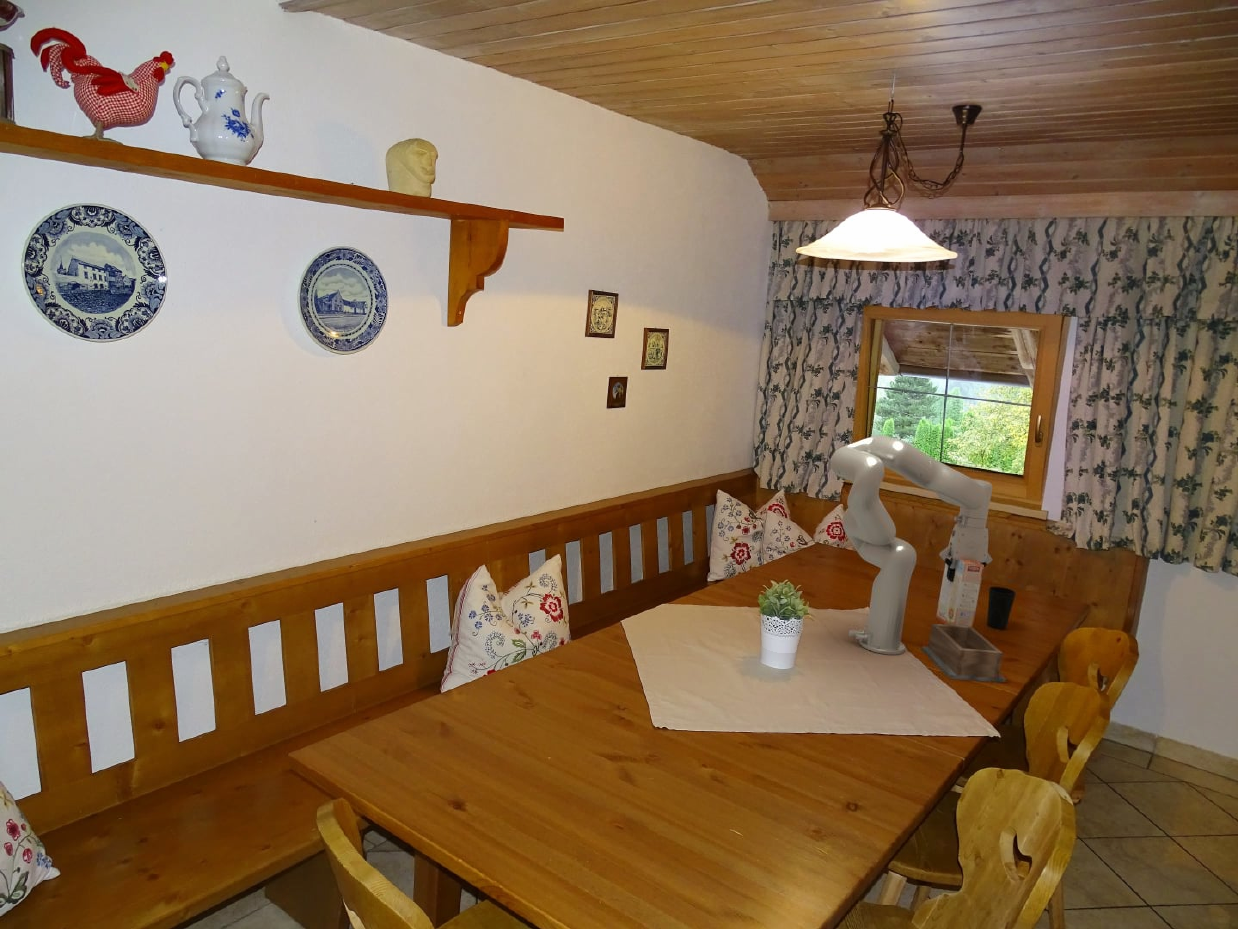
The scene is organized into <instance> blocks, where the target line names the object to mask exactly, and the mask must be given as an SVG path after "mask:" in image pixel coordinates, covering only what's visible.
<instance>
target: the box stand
mask: <svg viewBox="0 0 1238 929" xmlns="http://www.w3.org/2000/svg"><path fill="white" fill-rule="evenodd" d="M920 650H921V651H922V652H923V653H924V654H925V655H926V656H927V657H928V658H929V659H930V661H932V663H934V664H935V665H936V666H937V667H938V668H939V669H940V671H941V672H942V673H943V674H944V675H945V676H946V677H947V678H948V679H949V680H961V681H962V680H963V681H976V682H991V681H993V682H991V683H1003V682H1005V683H1006V678H1005V677H1004V676H1003V675H1002V674H1000V672H1001V666H1002V660H1003V655H1004V654H1003V652H1002V650H1000V649H999V648H998V647H996V645H994V644H993V643H992V642H990V641H989V640H988V639H987V638H986V637H984V636H983V635H982V634H981V633H980V632H978V630H976V629H975V628H973V627H969V626H956V625H945V624H939V623H931V628H930V634H929V641H928V646H924V645H922V646H921V649H920Z"/></svg>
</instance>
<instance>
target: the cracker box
mask: <svg viewBox="0 0 1238 929" xmlns="http://www.w3.org/2000/svg"><path fill="white" fill-rule="evenodd" d="M950 557H951V556H949V555H948V554H947V558H948V559H950ZM984 568H985V567H984V565H982V564H981V563H979V562H978V561H973V560H959V561H958V560H957V564H956V565H955V568H954V569H955V576H954V581H953V582H950V581H949V580H948V579H947V570H948V566H947V564H946V563H945V565H944V571H943V576H942V581H941V582H942V583H941V588H940V593H939V598H938V604H937V610H936V611H937V612H936V615H935V616H936V618H937V619H938V620H940V622H941V623H943V625H956V626H969V627H972V628H973V627H974V621H975V616H976V610H977V606H978V599H979V593H980V589H981V583H982V578H983V572H984Z"/></svg>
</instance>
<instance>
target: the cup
mask: <svg viewBox="0 0 1238 929" xmlns="http://www.w3.org/2000/svg"><path fill="white" fill-rule="evenodd" d="M1016 595H1017V594H1016V591H1014V590H1013V589H1011V588H1007V587H1003V586H990V587H989V589H988V603H987V617H986V618H987V619H986V626H987V627H988V626H989V627H988V628H990V627H991V628H990V629H993V628H994V629H993V630H996V629H999V630H998V631H1005V630H1007V626H1008V623H1009V619H1010V616H1011V613H1012V612H1011V611H1012V608H1013V604H1014V601H1015V598H1016ZM1004 629H1005V630H1004Z"/></svg>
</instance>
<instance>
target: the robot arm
mask: <svg viewBox="0 0 1238 929" xmlns="http://www.w3.org/2000/svg"><path fill="white" fill-rule="evenodd" d="M885 468H886V469H887V470H888V469H889V471H890V470H891V471H893V472H894V473H896V474H898V475H899V476H901V477H903V478H905V479H906V480H907V481H910V482H911V483H912V484H914V485H916V486H918V487H920V488H923V489H925V490H928V491H931V492H933V493H935V494H936V496H937V497H938V498H939V499H940V500H941V501H943V502H945V503H947V504H950V505H953V506H957V507H960V508H959V513H958V516H954V517H953V521H955V522H956V523H955V524H954V527H953V529H952V532H951V535H950V539H949V542H948V546H946V548H944V549H943V550H942V551H940V552H939V554H938V555H939V556H940V558H942V559H941V560H943V562H944V563H945V564H947V566H948V570H947V579H948V580H949V581H950V582H953V581H954V576H955V569H954V568H955V565H956V564H957V560H958V561H959V560H973V561H978V562H979V563H981V564H982V565H984V568H985V567H986V566H987V565H988V564H990V563H991V562H992V561H993V558H992V557H991V555H990V554H989V552H988V550H989V529H988V528H986V526H987V521H988V515H989V509H990V504H991V498H992V493H993V485H992V483H991V482H989V481H986V480H982V479H976V478H975V479H974V478H971V477H970V476H968V475H965V474H964V473H962V472H960V471H958V470H957V469H954V468H951V467H950V466H948V465H947V464H945V463H942V462H941V461H938V460H937V459H934V458H933V457H931V456H930V455H928V454H926V453H925V452H924V451H922V450H920V449H918V448H917V447H915V446H913V445H912V444H910V443H909V442H907V441H905V440H904V439H903V440H902V439H900V438H896V437H891V436H887V435H884V434H882V435H881V434H880V435H879V434H877V435H873V436H870V437H866V438H863V439H861V440H858V441H855V442H852V443H850V444H847V445H844V446H842V447H840V448H838V449H837V450H835V452H834V453H833V454H832V455H831V458H830V469H831V471H832V472H833V474H834V475H836V476H837V477H839V478H842V479H844V480H848V481H851V482H853V484H852V486H851V488H850V491H849V494H848V496H847V503H846V504H847V509H845V512H844V513H843V516H842V529H843V531H844V533H845V535H846V536H847V537H848V540H849V541H850V542H851V544H852V546H853V548H854V549H855V551H856V552H857V553H858V555H859V556H860V557H861V559H863V560H864V561H865V562H867V563H869V564H872V565H874V566H876V567H878V568H880V571H879V573H878V574H877V575H876V577H875V578H874V581H873V583H872V588H871V596H870V603H869V610H868V617H867V625H866V626H863V628H862V629H860V630H856V629H849V630H848V636H849V637H851V638H854V637H855V639H856V640H859V641H858V644H859V645H860V646H861V647H863V648H864V649H866V650H868V651H870V650H871V652H874V653H878V654H881V655H889V656H890V655H891V656H892V655H893V656H894V655H896V656H897V655H900V654H903V653H905V651H906V646H905V644H904V643H903V642H901V640H902V632H903V626H904V618H905V611H906V605H907V601H908V600H907V598H908V592H909V585H910V583H911V578H912V574H913V572H914V569H915V567H916V564H917V559H918V558H917V552H916V549H915V547H913V546H912V545H911V544H910V543H909V542H907V541H906V540H903V539H901V538H898V537H896V534H897V530H896V526H895V522H894V521H893V519H892V517H891V516H890V514H889V512H888V511H887V509H886V508H885V505H884V504H883V503H882V501H881V499H880V495H879V491H880V487H881V486H882V485H881V484H882V483H883V480H884V477H885V471H886V470H885ZM947 554H948V555H949V556H951V557H950V559H948V558H947Z"/></svg>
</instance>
